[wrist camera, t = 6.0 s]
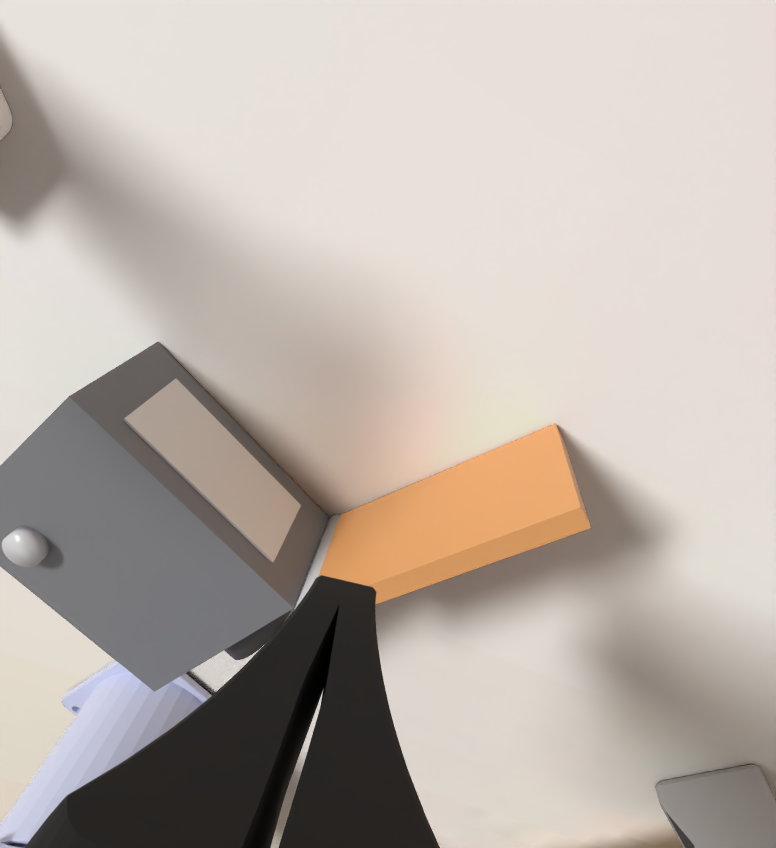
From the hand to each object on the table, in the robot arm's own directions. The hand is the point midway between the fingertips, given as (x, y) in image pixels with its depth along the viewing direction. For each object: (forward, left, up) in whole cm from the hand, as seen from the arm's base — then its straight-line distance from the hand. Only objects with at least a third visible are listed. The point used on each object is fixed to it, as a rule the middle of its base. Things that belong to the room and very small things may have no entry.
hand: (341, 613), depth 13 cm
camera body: (+3, +9, -10) cm, 14 cm away
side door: (-3, 0, -10) cm, 11 cm away
